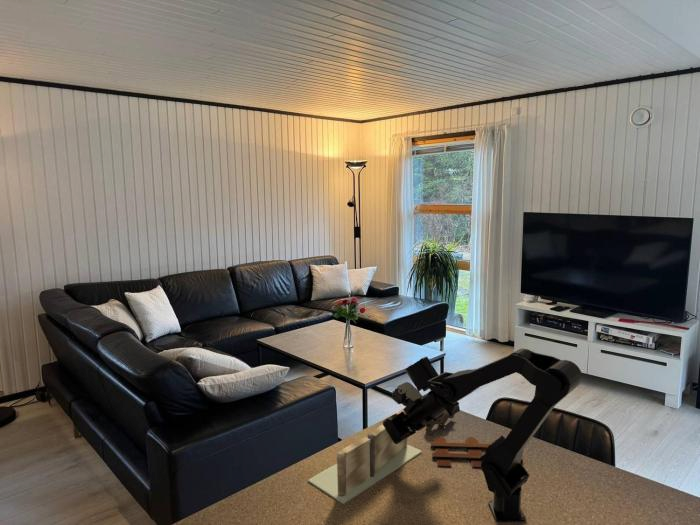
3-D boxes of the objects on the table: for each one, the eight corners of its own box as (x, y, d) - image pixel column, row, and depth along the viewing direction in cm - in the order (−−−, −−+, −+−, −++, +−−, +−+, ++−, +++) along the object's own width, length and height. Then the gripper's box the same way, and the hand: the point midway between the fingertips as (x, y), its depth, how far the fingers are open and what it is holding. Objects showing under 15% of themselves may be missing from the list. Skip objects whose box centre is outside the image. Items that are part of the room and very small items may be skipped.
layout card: (343, 504, 111) (343, 502, 111) (308, 481, 120) (308, 479, 120) (421, 452, 131) (421, 450, 131) (386, 436, 140) (386, 434, 140)
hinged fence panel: (376, 473, 121) (375, 435, 119) (370, 471, 122) (369, 433, 120) (408, 444, 134) (408, 410, 132) (402, 442, 135) (402, 408, 133)
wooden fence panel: (341, 497, 113) (340, 454, 111) (336, 494, 114) (335, 451, 112) (375, 475, 121) (375, 435, 119) (370, 472, 122) (369, 432, 120)
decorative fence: (526, 473, 122) (512, 441, 137) (526, 466, 122) (512, 435, 137) (433, 469, 125) (429, 439, 139) (433, 463, 124) (429, 433, 139)
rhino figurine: (461, 421, 148) (462, 402, 147) (431, 436, 139) (431, 417, 138) (451, 416, 151) (451, 398, 150) (420, 431, 143) (420, 412, 142)
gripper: (434, 366, 128) (402, 393, 137) (388, 388, 115) (355, 417, 125) (460, 403, 124) (424, 429, 133) (415, 431, 111) (379, 457, 120)
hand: (396, 431), depth 128 cm, fingers closed, pressing on hinged fence panel
